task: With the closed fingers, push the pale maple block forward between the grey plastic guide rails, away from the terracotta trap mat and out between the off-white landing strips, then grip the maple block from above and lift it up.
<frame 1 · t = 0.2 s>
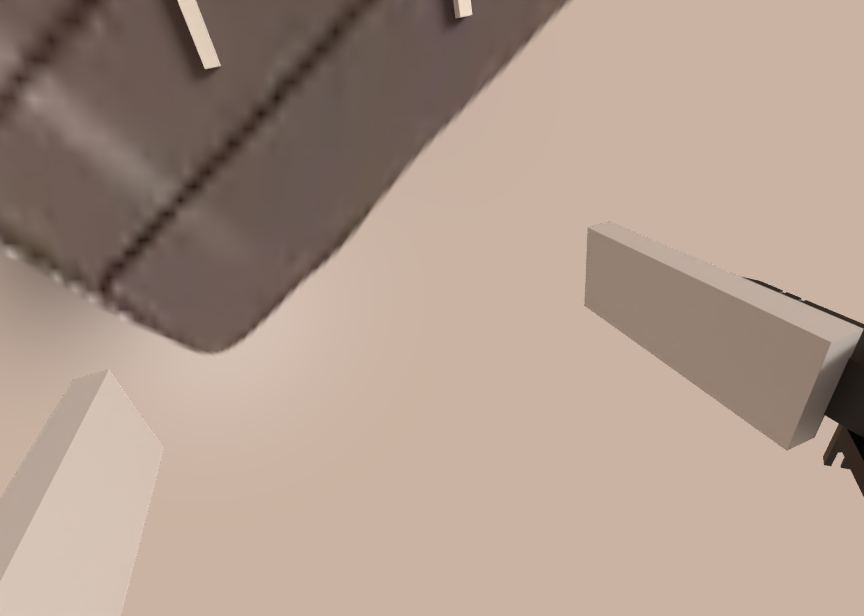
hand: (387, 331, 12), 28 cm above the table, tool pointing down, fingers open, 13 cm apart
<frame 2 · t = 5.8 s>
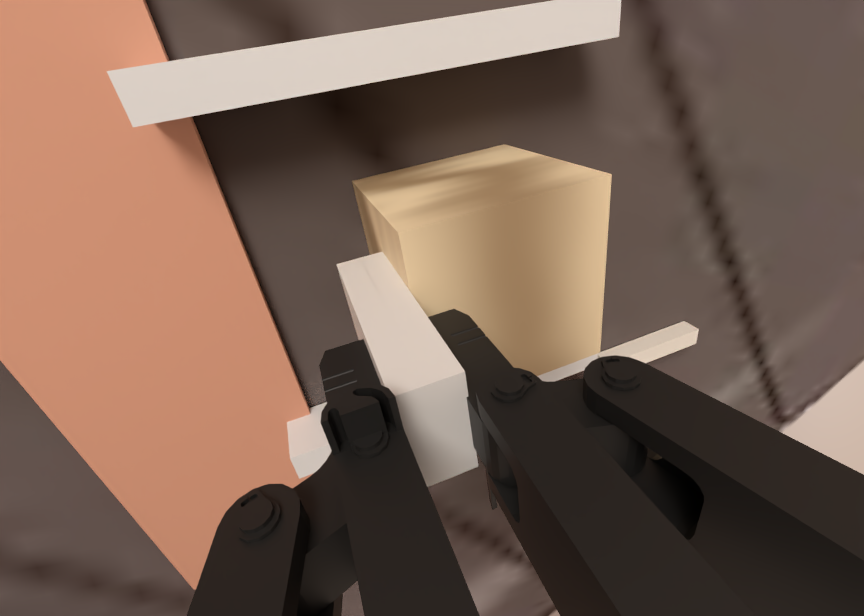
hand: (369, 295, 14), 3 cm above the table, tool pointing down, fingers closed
maple block: (442, 237, 17), on the table
trap mat: (143, 321, 15), on the table
guide rails: (415, 246, 17), on the table
landing strips: (662, 177, 20), on the table
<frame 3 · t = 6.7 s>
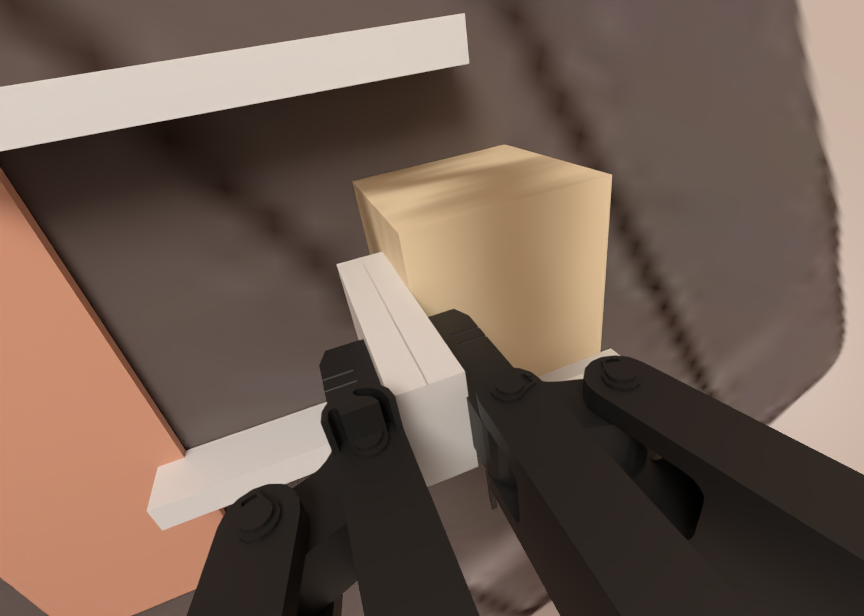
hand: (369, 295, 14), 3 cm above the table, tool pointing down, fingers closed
maple block: (442, 238, 17), on the table, touching gripper
guide rails: (285, 281, 16), on the table
landing strips: (565, 203, 19), on the table
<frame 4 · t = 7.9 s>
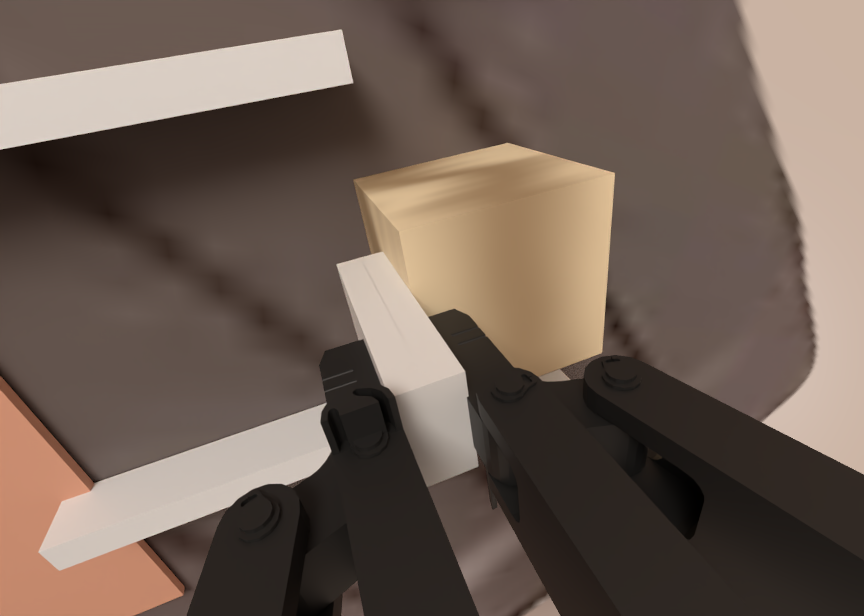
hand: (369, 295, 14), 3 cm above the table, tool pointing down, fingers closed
maple block: (443, 236, 17), on the table
guide rails: (187, 309, 15), on the table
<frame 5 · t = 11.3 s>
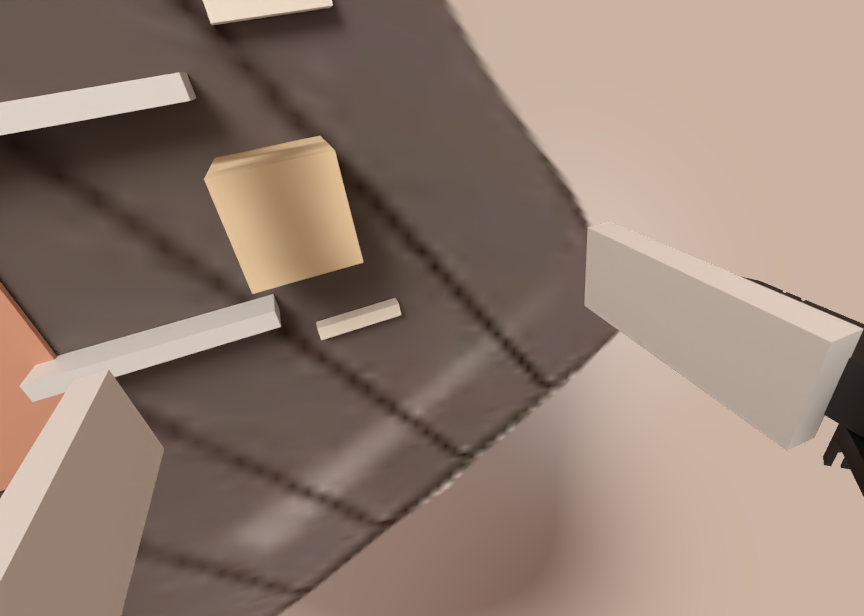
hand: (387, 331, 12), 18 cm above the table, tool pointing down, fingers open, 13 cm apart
maple block: (285, 196, 27), on the table
guide rails: (112, 238, 24), on the table
landing strips: (321, 188, 27), on the table
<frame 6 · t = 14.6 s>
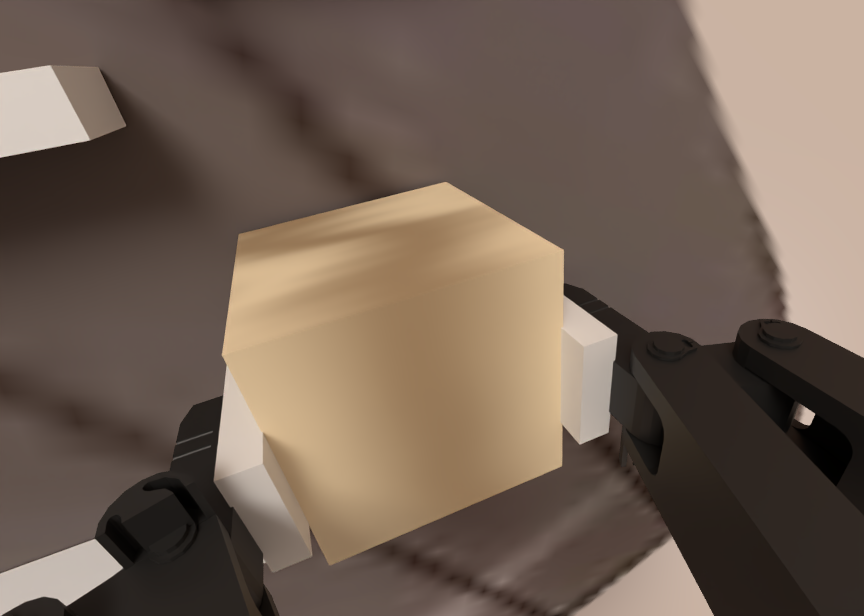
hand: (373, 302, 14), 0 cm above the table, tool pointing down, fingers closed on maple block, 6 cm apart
maple block: (371, 297, 14), on the table, touching gripper
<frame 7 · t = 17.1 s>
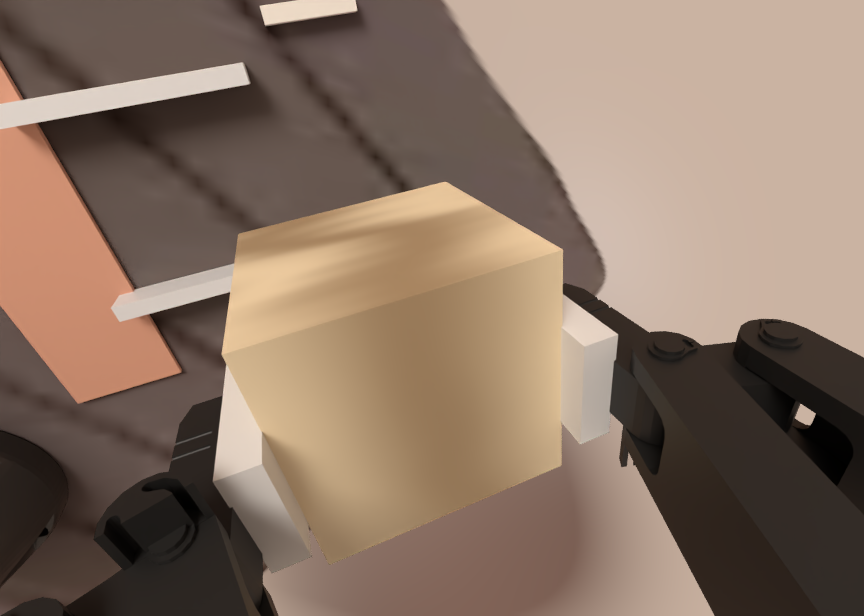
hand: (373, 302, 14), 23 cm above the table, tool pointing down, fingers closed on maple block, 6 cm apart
maple block: (371, 297, 14), point 23 cm above the table, touching gripper
trap mat: (25, 228, 29), on the table
guide rails: (182, 193, 31), on the table
landing strips: (345, 157, 33), on the table
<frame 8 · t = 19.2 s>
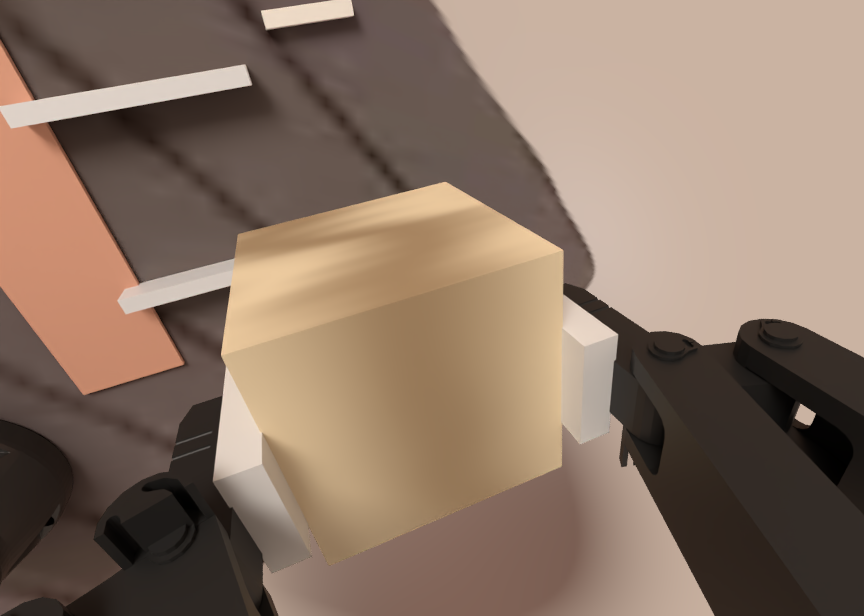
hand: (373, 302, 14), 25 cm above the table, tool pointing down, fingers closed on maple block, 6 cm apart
maple block: (371, 297, 14), point 25 cm above the table, touching gripper
trap mat: (35, 224, 30), on the table
guide rails: (186, 190, 32), on the table
landing strips: (342, 155, 35), on the table
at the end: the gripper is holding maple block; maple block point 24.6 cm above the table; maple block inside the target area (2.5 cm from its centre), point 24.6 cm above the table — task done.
